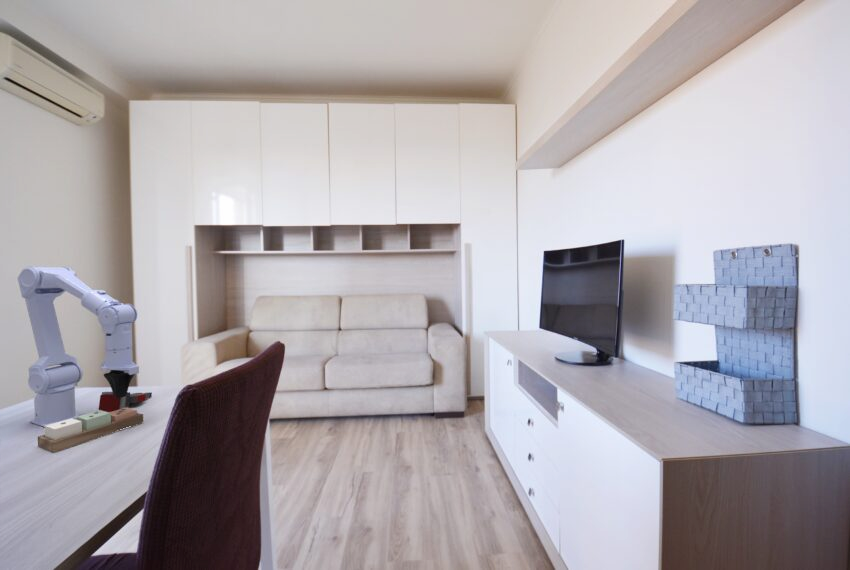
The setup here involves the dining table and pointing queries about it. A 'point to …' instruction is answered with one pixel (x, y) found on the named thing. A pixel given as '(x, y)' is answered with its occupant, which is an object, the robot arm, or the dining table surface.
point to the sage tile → (94, 419)
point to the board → (87, 434)
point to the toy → (120, 400)
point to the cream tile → (63, 429)
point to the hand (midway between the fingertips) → (120, 397)
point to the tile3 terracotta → (122, 414)
